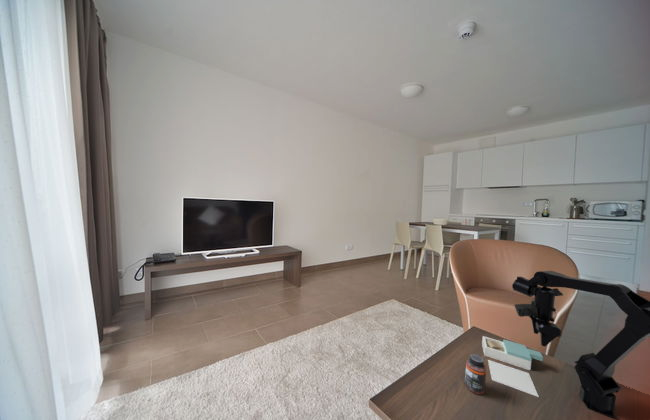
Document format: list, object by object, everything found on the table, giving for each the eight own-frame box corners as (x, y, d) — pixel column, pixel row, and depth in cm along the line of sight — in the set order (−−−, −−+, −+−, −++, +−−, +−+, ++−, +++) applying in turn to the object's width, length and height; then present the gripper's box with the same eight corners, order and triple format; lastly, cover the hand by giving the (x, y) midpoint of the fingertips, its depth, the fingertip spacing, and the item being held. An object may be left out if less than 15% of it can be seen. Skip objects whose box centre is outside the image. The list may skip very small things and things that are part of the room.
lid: (537, 351, 95) (537, 348, 94) (544, 365, 87) (545, 361, 87) (503, 341, 100) (503, 338, 100) (507, 354, 92) (507, 350, 92)
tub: (523, 357, 97) (525, 348, 96) (530, 371, 89) (531, 361, 89) (481, 344, 104) (482, 336, 104) (484, 355, 96) (485, 347, 96)
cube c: (496, 350, 100) (497, 341, 100) (501, 356, 96) (502, 347, 96) (486, 348, 101) (487, 340, 100) (491, 355, 97) (492, 346, 96)
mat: (528, 374, 87) (528, 373, 87) (538, 397, 77) (538, 396, 77) (487, 360, 94) (487, 359, 94) (491, 380, 83) (492, 379, 83)
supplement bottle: (478, 382, 83) (481, 352, 82) (488, 396, 77) (491, 365, 76) (461, 380, 83) (463, 351, 82) (469, 394, 77) (472, 363, 76)
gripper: (512, 288, 101) (508, 322, 103) (523, 306, 85) (519, 345, 86) (545, 295, 96) (541, 330, 97) (564, 315, 80) (559, 356, 81)
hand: (539, 339), depth 91 cm, fingers open, 9 cm apart
